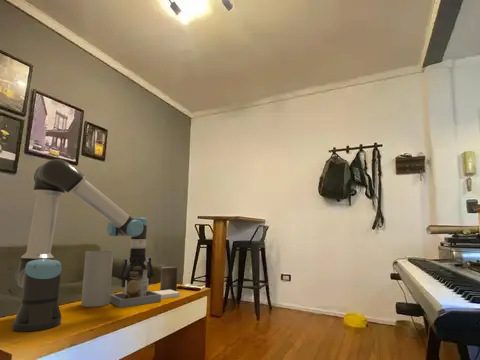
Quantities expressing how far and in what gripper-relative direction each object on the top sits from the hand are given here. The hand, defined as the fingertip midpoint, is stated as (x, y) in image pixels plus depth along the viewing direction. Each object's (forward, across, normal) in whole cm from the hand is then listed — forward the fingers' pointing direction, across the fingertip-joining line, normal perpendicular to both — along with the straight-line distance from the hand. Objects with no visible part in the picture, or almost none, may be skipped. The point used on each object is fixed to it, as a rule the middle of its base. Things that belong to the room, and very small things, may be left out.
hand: (135, 292), depth 154 cm
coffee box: (+5, 0, 0) cm, 5 cm away
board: (+4, +18, +4) cm, 19 cm away
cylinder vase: (+5, -17, +6) cm, 19 cm away
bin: (+4, 0, 0) cm, 4 cm away
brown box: (+5, +27, +18) cm, 33 cm away
